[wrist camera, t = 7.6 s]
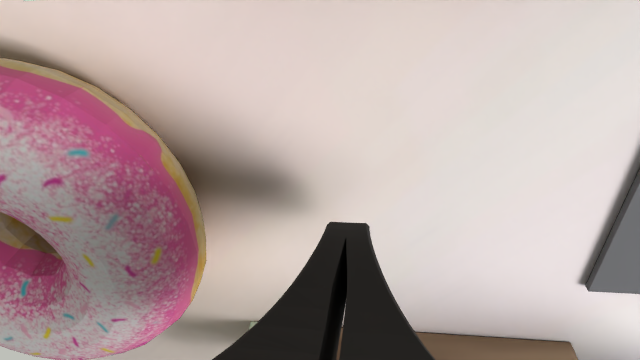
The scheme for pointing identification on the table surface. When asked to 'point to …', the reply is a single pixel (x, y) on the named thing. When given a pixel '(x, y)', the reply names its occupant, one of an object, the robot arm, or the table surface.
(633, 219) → the grey flat panel
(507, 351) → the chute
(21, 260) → the donut
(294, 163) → the table surface
